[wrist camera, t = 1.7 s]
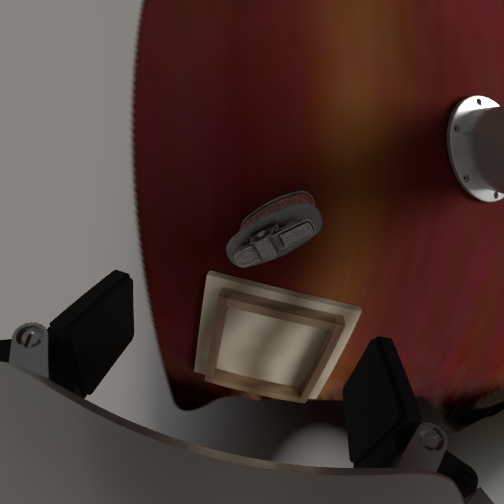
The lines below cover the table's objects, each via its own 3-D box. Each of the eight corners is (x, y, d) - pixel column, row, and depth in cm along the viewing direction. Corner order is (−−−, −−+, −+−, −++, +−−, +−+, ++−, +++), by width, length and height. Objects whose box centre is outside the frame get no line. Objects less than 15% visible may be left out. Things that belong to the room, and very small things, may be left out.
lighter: (251, 245, 30) (233, 290, 21) (236, 218, 29) (209, 251, 20) (320, 212, 28) (334, 244, 18) (305, 182, 27) (312, 199, 17)
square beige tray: (359, 306, 31) (365, 321, 28) (315, 393, 37) (316, 409, 34) (209, 270, 32) (201, 282, 29) (196, 365, 38) (190, 380, 35)
